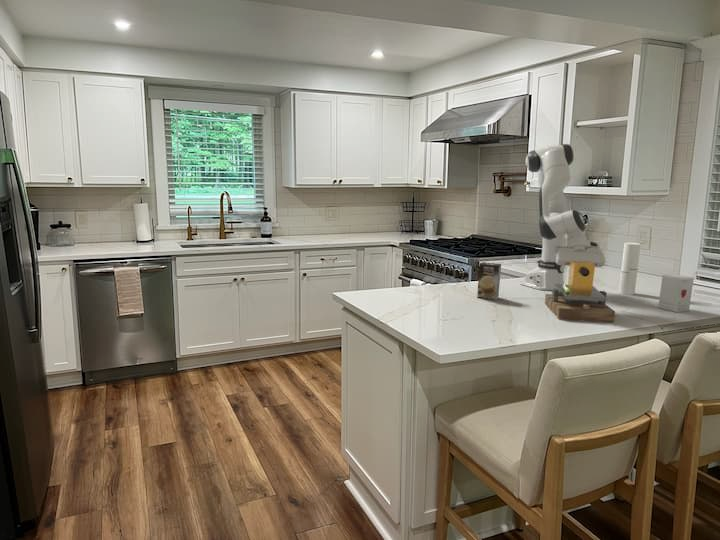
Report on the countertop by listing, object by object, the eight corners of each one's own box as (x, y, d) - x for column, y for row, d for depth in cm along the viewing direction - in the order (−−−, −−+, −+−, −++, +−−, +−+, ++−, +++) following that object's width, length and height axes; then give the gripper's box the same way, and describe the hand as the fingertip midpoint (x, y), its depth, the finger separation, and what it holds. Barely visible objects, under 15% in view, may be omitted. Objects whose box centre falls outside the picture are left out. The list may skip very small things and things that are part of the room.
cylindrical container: (636, 295, 261) (642, 244, 257) (620, 294, 262) (626, 244, 258) (632, 292, 268) (638, 242, 264) (616, 291, 269) (622, 242, 265)
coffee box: (476, 297, 246) (478, 263, 244) (479, 295, 252) (481, 261, 249) (496, 300, 243) (498, 265, 240) (499, 297, 248) (501, 263, 245)
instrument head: (554, 287, 232) (557, 257, 229) (592, 289, 230) (596, 258, 227) (564, 299, 215) (568, 266, 212) (605, 301, 213) (610, 268, 210)
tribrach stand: (544, 303, 238) (546, 283, 236) (593, 306, 235) (596, 285, 234) (558, 319, 213) (560, 296, 211) (613, 322, 210) (616, 298, 208)
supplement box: (677, 312, 228) (681, 278, 226) (657, 307, 236) (661, 274, 234) (690, 310, 233) (694, 277, 230) (670, 306, 240) (674, 273, 238)
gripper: (555, 241, 234) (560, 267, 226) (603, 244, 233) (609, 270, 225) (551, 250, 239) (556, 276, 231) (597, 252, 238) (603, 278, 230)
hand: (582, 273), depth 228 cm, fingers closed
